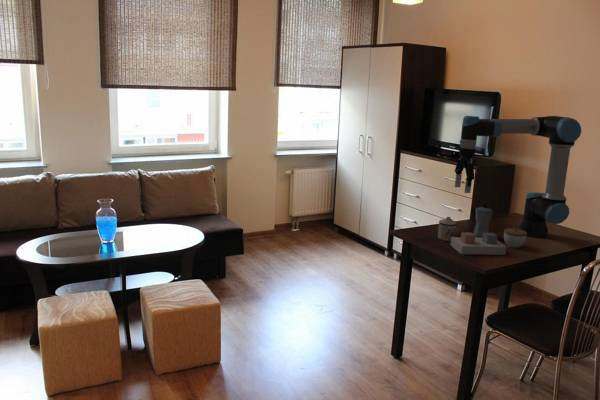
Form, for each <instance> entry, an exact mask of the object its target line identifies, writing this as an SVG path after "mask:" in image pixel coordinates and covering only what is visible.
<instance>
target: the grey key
mask: <svg viewBox="0 0 600 400" xmlns="http://www.w3.org/2000/svg"><path fill="white" fill-rule="evenodd" d="M482 241H483V242H484V243H486V244H496V243H497V241H498V234H496V233H494V232H489V233H483V238H482Z"/></svg>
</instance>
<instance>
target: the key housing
mask: <svg viewBox="0 0 600 400" xmlns="http://www.w3.org/2000/svg"><path fill="white" fill-rule="evenodd" d="M450 246H452V247H451V248H454V249H455V250H456V251H457V252H458V253H459V254H460V255H495V256H496V255H498V256H501V255H502V256H503V255H504V256H506V255H507V254H506V253H507V249H508V248H507V246H506V245H505V244H503V243H502V242H501V241H499V240H497V243H496V244H486V243H484V242H483V241H482V238H480V237H475V244H464V243H463V242H462V241H461V236H460V237H457V236H455V237H451V241H450Z"/></svg>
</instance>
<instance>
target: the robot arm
mask: <svg viewBox="0 0 600 400" xmlns="http://www.w3.org/2000/svg"><path fill="white" fill-rule="evenodd" d="M460 134H461V136H460V140H459V150H458V159H457V162H456V166H455V168H454V173H455V180H454V188H461V186H462V185H461V182H462V175H463V172H464V171H465V174H466V178H465V184H464V191H463V192H464V194H471V191H472V190H471V189H472V182H473V181H474V180H475V166H474V164H475V159H472V157H474V156H476V149H475V148H476V147H477V142H478V141H477V139H478V137H492V138H496V137H500V136H501V135H502V134H503V135H504V134H505V135H506V134H508V135H509V134H510V135H511V134H512V135H514V134H518V135H519V134H521V135H523V134H526V135H531V136H533V137H534V136H536V137H543V138H547V139H548V144H549V146H550V156H549V163H548V170H547V171H548V172H547V178H546V183H545V184H546V186H545V192H528V193H526V197H525V203H524V208H523V209H524V210H523V211H524V212H523V216H522V217H523V218H522V220H521V222H520V224H519V226H518V228H517V229H520V230H523V231H526V232H527V235H526V237H531V238H547V237H548V235H549V229H548V226H547V225H548V224H553V225H559V224H562V223H563V222H565V221H566V220H567V219H568V217H569V216H570V215H569V214H570V208H569V206H568V205H567V197H566V196H565V188H566V182H567V174H568V167H569V159H570V153H571V148H573V147H574V146H575V142H576V141H578V139H579V138H580V137H581V136H582V135H581V134H582V126H581V124H580V122H579V121H578V120H577V119H575V118H571V117H569V116H559V115H548V116H546V115H545V116H534V117H531V118H480V117H479V116H476V115H475V116H474V115H464V116H463V119H462V124H461V133H460ZM464 169H465V170H464ZM547 223H548V224H547Z"/></svg>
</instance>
